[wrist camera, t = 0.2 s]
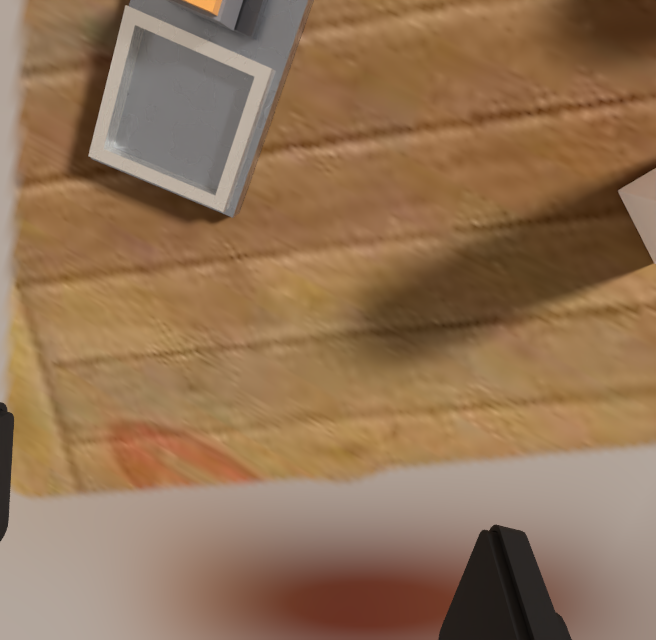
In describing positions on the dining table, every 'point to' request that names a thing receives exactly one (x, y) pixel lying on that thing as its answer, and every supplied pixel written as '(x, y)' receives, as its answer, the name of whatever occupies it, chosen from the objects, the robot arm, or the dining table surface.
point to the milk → (643, 208)
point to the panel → (196, 96)
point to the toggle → (213, 10)
